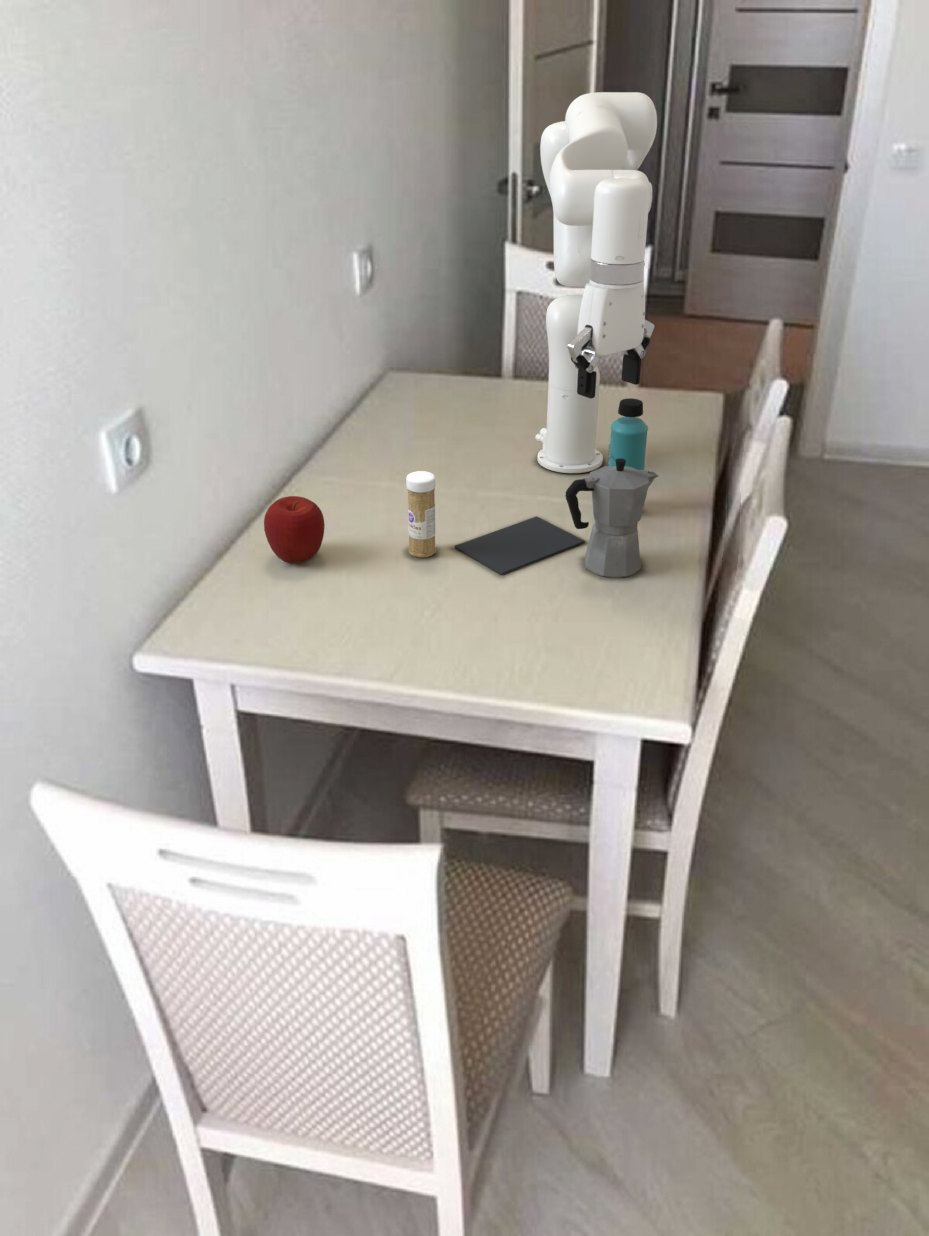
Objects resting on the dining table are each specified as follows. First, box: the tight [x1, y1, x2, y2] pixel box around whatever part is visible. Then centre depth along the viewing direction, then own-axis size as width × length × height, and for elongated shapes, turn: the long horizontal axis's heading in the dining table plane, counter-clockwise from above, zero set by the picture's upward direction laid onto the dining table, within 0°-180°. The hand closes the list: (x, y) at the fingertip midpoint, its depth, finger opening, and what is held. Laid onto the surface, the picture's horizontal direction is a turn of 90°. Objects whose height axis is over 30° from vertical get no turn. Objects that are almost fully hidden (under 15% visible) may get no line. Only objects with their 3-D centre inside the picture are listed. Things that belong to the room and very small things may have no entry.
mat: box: [454, 516, 586, 576], centre depth 174 cm, size 12×18×1 cm, turn 128°
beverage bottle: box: [607, 397, 649, 470], centre depth 181 cm, size 6×7×20 cm
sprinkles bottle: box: [405, 470, 437, 559], centre depth 169 cm, size 5×5×13 cm
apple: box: [263, 495, 326, 564], centre depth 168 cm, size 10×10×10 cm
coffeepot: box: [565, 458, 659, 579], centre depth 163 cm, size 15×9×18 cm, turn 110°
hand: (608, 389), depth 159 cm, fingers open, 9 cm apart
